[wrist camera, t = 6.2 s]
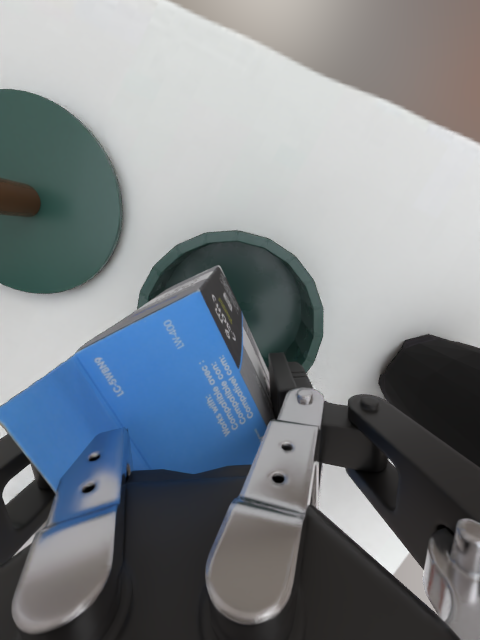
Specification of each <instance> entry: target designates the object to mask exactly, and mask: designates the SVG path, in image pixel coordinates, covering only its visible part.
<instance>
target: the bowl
mask: <svg viewBox="0 0 480 640" xmlns="http://www.w3.org/2000/svg"><path fill="white" fill-rule="evenodd" d="M217 265H219V266H220V267H221V269H222V271H223V273H224V275H225V277H226V279H227V281H228V283H229V285H230V287H231V289H232V291H233V293H234V296H235V298H236V300H237V302H238V304H239V307H240V309H241V311H242V313H243V316H244V318H245V320H246V322H247V325H248V327H249V329H250V331H251V333H252V336H253V338H254V340H255V342H256V345H257V347H258V349H259V351H260V353H261V356H262V358H263V360H264V362H265V364H266V367H267V369H268V371H269V358H268V355H269V353H280V352H284V354H285V357H286V359H287V362H297V363H299V364H300V365H302V366H303V368H304V370H305V373H307V371H308V370H309V369H310V367H311V366H312V365H313V363H314V361H315V358H316V355H317V352H318V349H319V346H320V344H321V341H322V337H323V306H322V303H321V300H320V297H319V294H318V291H317V288H316V285H315V282H314V280H313V278H312V277H311V276H310V274H309V273H308V272H307V271H306V269H305V268H304V267H303V265H302V264H301V263H300V261H299V260H298V259H297V257H295V256H294V255H293V254H292V253H290V252H289V251H287V250H286V249H284V248H283V247H281V246H280V245H278V244H277V243H275V242H274V241H272V240H271V239H268V238H265V237H261V236H258V235H254V234H250V233H246V232H243V231H237V230H235V231H221V232H207V233H204V234H201V235H199V236H196V237H194V238H192V239H189V240H187V241H185V242H182V243H180V244H178V245H176V246H175V247H174V248H173V249H172V250H170V251H169V252H168V253H167V254H166V255H165V256H164V257H163V258H162V259H161V260H159V261H158V262H157V263H156V264H155V265H154V266H153V268H152V270H151V272H150V274H149V276H148V277H147V279H146V281H145V283H144V285H143V287H142V288H141V290H140V294H139V300H138V306H137V309H139V308H140V307H142V306H143V305H145V304H146V303H148V302H149V301H151V300H152V299H154V298H155V297H156V296H158V295H159V294H160V293H162V292H163V291H165V290H166V289H168V288H170V287H172V286H174V285H176V284H178V283H180V282H182V281H184V280H187V279H189V278H191V277H193V276H195V275H197V274H199V273H202V272H204V271H206V270H208V269H210V268H212V267H214V266H217Z"/></svg>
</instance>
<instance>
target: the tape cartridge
mask: <svg viewBox="0 0 480 640" xmlns="http://www.w3.org/2000/svg"><path fill="white" fill-rule="evenodd" d="M271 419H275V416H274V411H273V405H272V400H271V394H270V382H269V371H268V369H267V367H266V364H265V362H264V360H263V358H262V356H261V353H260V351H259V349H258V347H257V345H256V342H255V340H254V338H253V336H252V333H251V331H250V329H249V327H248V325H247V322H246V320H245V318H244V316H243V313H242V311H241V309H240V307H239V304H238V302H237V300H236V298H235V296H234V293H233V291H232V289H231V287H230V285H229V283H228V281H227V279H226V277H225V275H224V273H223V271H222V269H221V267H220V266H219V265H217V266H214V267H212V268H210V269H208V270H206V271H204V272H202V273H199V274H197V275H195V276H193V277H191V278H189V279H187V280H184V281H182V282H180V283H178V284H176V285H174V286H172V287H170V288H168V289H166V290H165V291H163V292H162V293H160V294H159V295H158V296H156V297H155V298H154V299H152V300H151V301H149V302H148V303H146V304H145V305H143V306H142V307H140V308H139V309H137V310H136V311H134V312H133V313H132V314H130V315H129V316H127V317H126V318H124V319H123V320H121V321H120V322H118V323H117V324H115V325H114V326H112V327H110V328H109V329H107V330H106V331H104V332H102V333H101V334H99V335H98V336H96V337H94V338H93V339H91V340H90V341H88V342H87V343H85V344H84V345H83V346H82V347H80V348H79V349H78V350H77V352H76V353H75V354H74V355H73V356H71V357H70V358H69V359H68V360H66V361H65V362H63V363H61V364H60V365H59V366H57V367H56V368H55V369H53V370H52V371H50V372H49V373H48V374H46V375H45V376H44V377H42V378H41V379H39V380H37V381H36V382H35V383H33V384H32V385H31V386H29V387H28V388H27V389H25V390H24V391H22V392H20V393H19V394H17V395H16V396H14V397H13V398H11V399H10V400H9V401H8V402H6V403H5V404H3V405H1V406H0V425H1V426H2V427H3V428H4V429H5V430H6V432H7V433H8V434H9V435H10V436H11V437H12V439H13V440H14V441H15V443H16V444H17V445H18V447H19V448H20V449H21V450H22V452H23V453H24V454H25V455H26V457H27V458H28V459H29V461H30V462H31V463H32V464H33V465H34V467H35V468H36V469H37V470H38V472H39V473H40V474H41V476H42V477H43V478H44V480H45V481H46V482H47V484H48V485H49V486H50V487H51V489H52V490H53V492H54V493H55V494H56V491H57V488H58V485H59V481H60V479H61V477H62V476H63V475H64V474H65V473H66V471H67V470H68V469H69V468H70V467H71V465H72V464H73V463H74V462H75V461H76V459H77V458H78V457H79V456H80V455H81V453H82V452H83V451H84V450H85V448H86V447H87V446H88V445H89V443H90V442H91V441H92V440H93V439H94V437H95V436H96V435H98V434H99V433H102V432H106V431H110V430H114V429H118V428H122V427H125V428H126V429H128V432H129V437H130V445H131V455H132V462H133V470H134V471H137V470H156V469H165V470H171V471H177V472H183V473H189V474H197V473H201V472H205V471H209V470H213V469H217V468H221V467H225V466H232V465H251V464H252V463H253V461H254V458H255V456H256V453H257V451H258V448H259V446H260V444H261V441H262V439H263V436H264V434H265V431H266V429H267V426H268V424H269V421H270V420H271Z"/></svg>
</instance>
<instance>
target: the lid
mask: <svg viewBox="0 0 480 640" xmlns="http://www.w3.org/2000/svg"><path fill="white" fill-rule="evenodd" d="M121 224H122V200H121V193H120V188H119V184H118V180H117V177H116V174H115V171H114V169H113V166H112V164H111V162H110V160H109V158H108V156H107V154H106V153H105V151H104V149H103V148H102V146H101V145H100V143H99V142H98V140H97V139H96V138H95V137H94V135H93V134H92V133H91V132H90V130H89V129H88V128H87V127H86V126H85V125H84V124H83V123H82V122H81V121H80V120H78V119H77V118H76V117H74V116H73V115H72V114H71V113H69V112H68V111H67V110H65V109H64V108H62V107H61V106H59V105H57V104H56V103H54V102H52V101H50V100H48V99H46V98H44V97H41V96H39V95H36V94H33V93H29V92H26V91H20V90H13V89H0V283H1V284H3V285H5V286H8V287H11V288H13V289H16V290H20V291H24V292H30V293H38V294H50V293H57V292H62V291H66V290H69V289H73V288H75V287H77V286H80V285H82V284H84V283H85V282H87V281H89V280H90V279H92V278H93V277H94V276H95V275H96V274H97V273H99V272H100V271H101V269H102V268H103V267H104V266H105V265H106V264H107V262H108V260H109V259H110V257H111V256H112V254H113V252H114V250H115V247H116V245H117V242H118V239H119V235H120V231H121Z"/></svg>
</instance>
